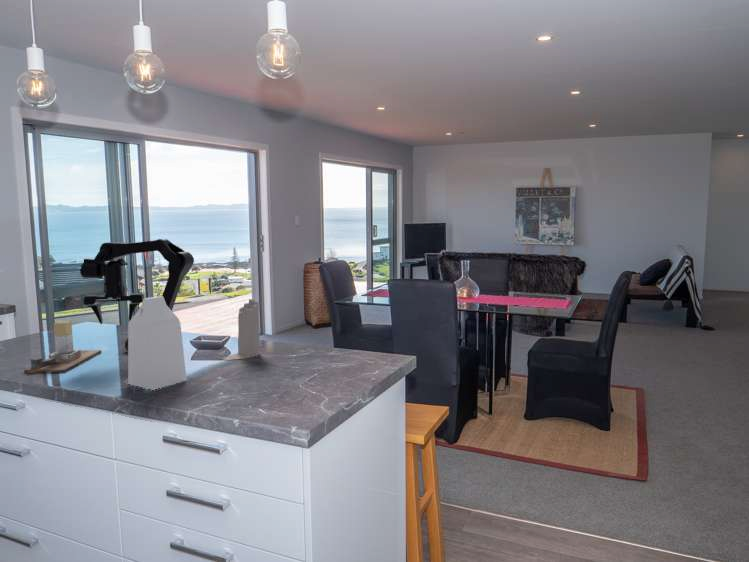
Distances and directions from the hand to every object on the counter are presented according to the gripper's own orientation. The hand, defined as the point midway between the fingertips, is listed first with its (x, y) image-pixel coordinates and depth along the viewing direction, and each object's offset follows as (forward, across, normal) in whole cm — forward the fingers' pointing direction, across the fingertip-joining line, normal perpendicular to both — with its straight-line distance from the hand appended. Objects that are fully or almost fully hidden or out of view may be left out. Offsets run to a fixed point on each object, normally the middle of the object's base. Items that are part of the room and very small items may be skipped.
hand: (115, 323), depth 197 cm
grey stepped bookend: (+13, -42, +6) cm, 44 cm away
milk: (+13, -17, +32) cm, 39 cm away
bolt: (+14, -7, -17) cm, 23 cm away
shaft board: (+13, +17, -1) cm, 21 cm away
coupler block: (+12, +17, -1) cm, 21 cm away
